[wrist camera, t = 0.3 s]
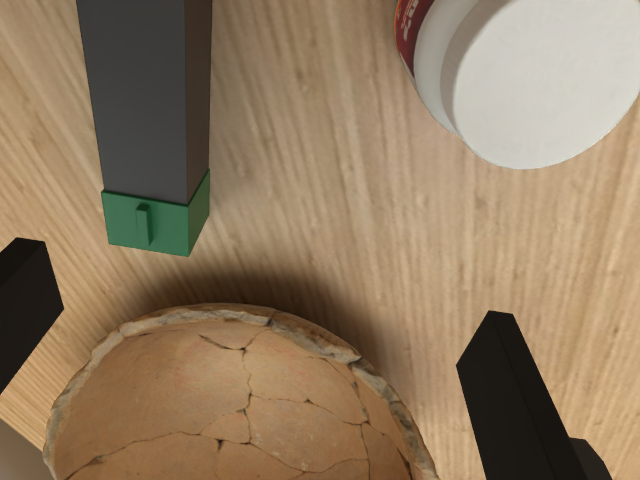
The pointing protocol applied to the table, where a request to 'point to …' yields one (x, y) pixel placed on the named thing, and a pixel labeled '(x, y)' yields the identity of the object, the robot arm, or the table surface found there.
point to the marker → (151, 117)
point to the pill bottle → (523, 72)
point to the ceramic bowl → (230, 404)
